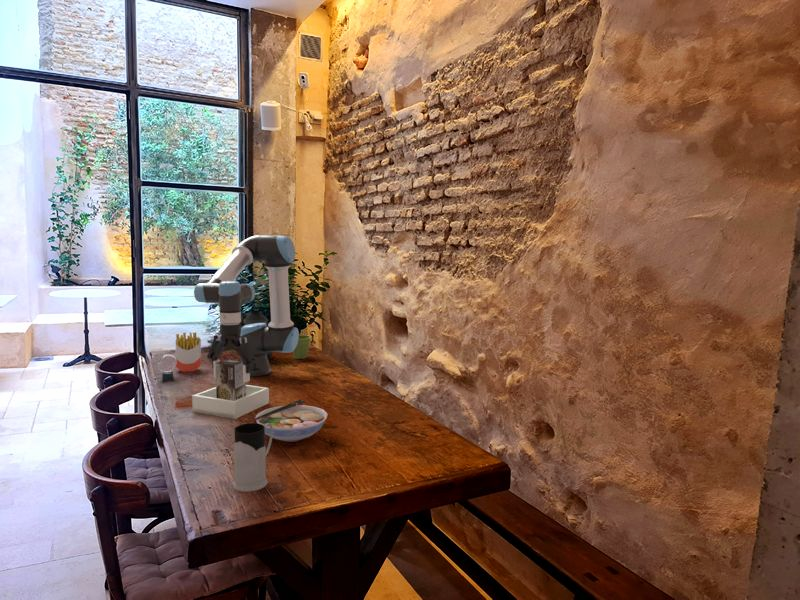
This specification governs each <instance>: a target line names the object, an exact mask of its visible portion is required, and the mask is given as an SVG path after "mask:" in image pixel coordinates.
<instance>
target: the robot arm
mask: <svg viewBox="0 0 800 600" xmlns="http://www.w3.org/2000/svg"><path fill="white" fill-rule="evenodd" d="M295 259H296V248H295V244H294V242H293V240H292V239H291V237H289V236H286V235H285V236H284V235H279V234H278V235H253V236H250V237H248V238H246V239H243V240H242V241H240V242H239V243H238V244H237V245H235V246H234V248H233V249H232V251H231V255H229V257H228V258H227V259H226V260H225V262H223V264H222V265H221V266H220V267H219V268H218V269H217V271H215V273H214V274H213V275H212V276H211V277H210V278H209V280H208V281H207V282H201V283H197V284H196V285H195V286H194V290H193V296H194V300H196V302H199V303H204V304H205V303H206V304H208V303H209V304H218V305H219V323H220V325H219V334H218V333H217V334H215V335H213V340H212V344H211V346H210V349H209V351H208V353H207V357H206V358H207V359H210V360H211V366H212V367H211V368H212V369H213V379H216V366H215V363H218V362H220V361H221V360H220V359H219V358H220V357H221V356H222V354H223V352H224V351H225V350H226V349H231V350H234V351H236V353H237V354H238V356H239V357H240V359H239V361H243V362H244V363H245V365H243V382H246V383H248V382H250V380H251V378H250V377H260V376H266V375H269V374H271V369H272V368H271V365H270V361H269V360H268V359H267V352H272V353H282V354H285V353H293V351H294V350H295V348H296V346H297V343H298V338H299V335H300V332H299V329H298V328H297V327H295V323H294V321H292V320H291V312H290V311H291V309H290V291H289V289H290V288H289V286H290V285H289V268H290V267H291V265H292V264H291V263H294V261H295ZM253 262H264V268H266V269H267V271H268V273H267V274H268V286H269V289H268V290H269V291H268V292H269V303H270V304H269V305H270V322H269V323H267V325H266V323H255V324H249V325H245V324H244V326H243V327H242V328H241V324H240V322H241V319H242V312H241V311H242V307H241V305H247V304H249V303H250V302H252V301H253V300H254V299H255V296H256V290H255V288H254V286H253V285H251V284H250V283H240V282H239V281H236V279H237V277H238V276H239V275H240V274H241V273H242V271H243V270H244V269H245V268H246V266H250V265H251V264H252V263H253ZM240 334H241V335H240Z"/></svg>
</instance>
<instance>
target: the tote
mask: <svg viewBox="0 0 800 600" xmlns="http://www.w3.org/2000/svg"><path fill="white" fill-rule="evenodd" d="M269 391H270V388H269V387H265V386H264V387H263V386H258V385H250V384H246V396H245V397H243V398H240V399H238V400H235V401H231V400H225V399H219V398H217V395H216V386H215V387H212V388H209V389H207V390H204V391H200V392H198V393H196V394H192V395H191V396H192V397H191V401H192V406H191V407H192V413H200V414H204V415H212V416H216V417H217V416H218V417H222V418H228V419H233V420H235V419H238V418H240V417H242V416H244V415H246V414H249V413H251V412H253V411H255V410H257V409H259V408H261V407H263V406H265V405H268V404H270V392H269Z"/></svg>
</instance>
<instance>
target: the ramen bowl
mask: <svg viewBox="0 0 800 600" xmlns="http://www.w3.org/2000/svg"><path fill="white" fill-rule="evenodd" d="M305 403H306V400H302V399H297V400H295V401H292V402H291V403H288V404H286V405H278V406H273V407H270V408H266V409H264V410H262V411H260V412H257V414H256V415H255V417H254V418H252V419H250V420H248V421H246V422H247V423H251V422H253V421H256V423H258V424H262V425H265V424H266V423H270V424H272V427H273V436H272V439H275V440H278V441H282V442H286V443H293V442H299V441H302V440H304V439H306V438H310V437H311V436H313V435H314V434H316V433H317V432H319V431H320V429H321V428H322V427H323V426H324V425H325V422H326V420H327V418H328V414H329V413H328V412H326V410H324V409H323V408H320V407H317V406H312V405H306V404H305ZM265 435H267V436H268V437H270V426H269V424H268V425H267V426H266V428H265Z"/></svg>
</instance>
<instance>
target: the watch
mask: <svg viewBox="0 0 800 600" xmlns="http://www.w3.org/2000/svg"><path fill="white" fill-rule="evenodd" d="M167 357H171V358H173V359H174V360H175V361H174V364H173V366H172V368H171V369H169V370H163V369H162V368H161V366H162V365H163V364H164V362H165V360H166V358H167ZM156 364H157V365H156V366H158V367H157V368H158V370H159V371H160V372H161V373H162V374H161V375H162V376H161V378H162V382H166V381H167V380H170V381H174V370H176V368H177V367H176V365H177V361H176V356H174V355H173V354H164V355H161V357H160V358H159V361H158V363H156ZM167 382H168V381H167Z"/></svg>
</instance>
